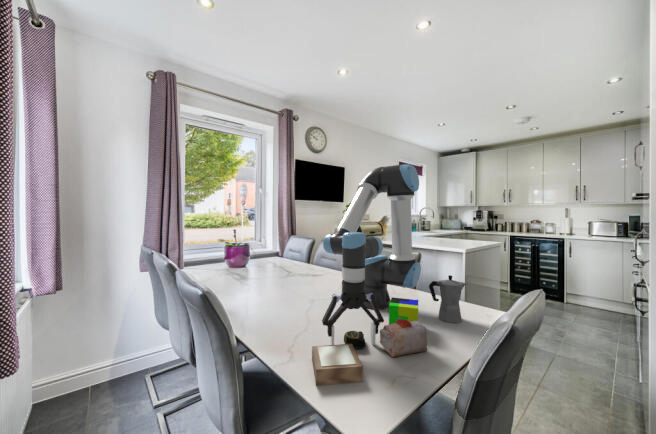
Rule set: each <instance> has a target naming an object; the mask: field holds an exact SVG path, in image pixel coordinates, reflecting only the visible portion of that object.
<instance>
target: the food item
mask: <svg viewBox="0 0 656 434" xmlns="http://www.w3.org/2000/svg"><path fill="white" fill-rule="evenodd" d="M379 343H380V344H381V346H382V347H383V350H385V351H386V352H387V354H389V356H391V357H392V358H396V357H400V356H403V355H408V354H409V355H410V354H416V353H421V352H422V353H423V352H428V334H427V328H426V326H425V325H424V324H422V323H421V321H419V320H418V321H411V322H409V321H408V320H403V319H401V317H399V318H398V320H397V321H396V323H394V324H389V323H388V324H385V325H383V328H381V329H380V330H379Z"/></svg>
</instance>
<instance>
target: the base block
mask: <svg viewBox="0 0 656 434" xmlns="http://www.w3.org/2000/svg"><path fill="white" fill-rule="evenodd" d="M355 349H356V348H355ZM355 349H354V347H353V345H352V344H345V343H344V344H343V343H342V344H334V345H331V344H329V345H328V344H326V345H313V346H311V362H312V368H313V374H314V381H315V386H328V385H339V384H352V383H364V382H363V381H364V379H363V377H364V375H363V374H364V366H363V364H362V361H361V359H360V357H359V356H358V353H357V351H356V350H355Z"/></svg>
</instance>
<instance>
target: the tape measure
mask: <svg viewBox="0 0 656 434" xmlns="http://www.w3.org/2000/svg"><path fill="white" fill-rule="evenodd" d="M364 335H365V334H364V333H363V331H360V330H359V331H356V330H349V331H346V332H345V333H344V335H343V343H344V344H352V345H353V347H354V349H363V348H365V347H366V339H365V338H364Z"/></svg>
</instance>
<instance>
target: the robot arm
mask: <svg viewBox="0 0 656 434" xmlns="http://www.w3.org/2000/svg"><path fill="white" fill-rule="evenodd" d="M419 186H420V178H419V174H418V171H417V169H416V167H415V166H413V164H397V165H396V164H395V165H389V166H380V167H376V168H374V169H372V170H371V171H370V172H369V173H367V174H366V175H365V176H364V177H363V178H362V179H361V181H360V182H359V184H358V185H357V188H356V190H357V192H356V194H355V195H354V197H353V199H352V201H351V203H350V205H348V208H347V210H346V211H345V213H344V215H343V217H342V219H341V220H340V222H339V224H338V226H337V227H336V229H335V232H334V233H331V234H330V233H329V234H327V235H325V236H324V238H323V241H322V246H323V249H324V251H325V253H327V254H331V255H334V256H335V255H339V256H340V255H341V256H342V258H341V260H342V262H341V263H342V264H341V270H342V271H341V279H342V280H341V294H340V295H336V294H335V293H332V295H331V302H330V304H329V305H328V308H327V309H326V311H325V314H324V316H323V318H322V319H321V322H322V325H323V326H325V327H327V335H328V337H329V338H330V345H335V323H336V322H337V321H338V319H339V318H340V317H341V316H342V315H343V313H344V312H345V311H347V309H349V310H353V309H354V310H359V309H360V308H361V309H362V310H363V311H364V313H366V315H367V317H369V318H370V319H371V320H372V321H370V343H371V344H372V346H376V335H378V333H379V325H380V324H381V323H384V322H385V319H384V317H383V315H382V312H381V311H380V309H388V308H389V304H390V301H391V297H390V293H389V291H388V290H389V289H388V285H389V286H395V287H401V288H403V289H405V288H408V289H413V288H415V287H416V286H417V284H418V283H419V280H420V276H421V272H422V267H421V263H420V262H418V261H417V259H416V256H415V254H413V240H412V239H413V237H412V236H413V235H412V234H413V233H412V199H413V198H414V197H415V192H417V191H418V190H419V189H420V187H419ZM382 193H385V194H386V195H387V198H388V199H389V200H390V218H391V222H390V223H391V226H390V227H391V254H389V256H388V255H386V254H382V252H383V249H384V244H383V242H382V240H381V238H379V237H378V236H375V235H369V236H366V234H365V232H359V231H358V229H359V227H360V226H361V223H362V222H363V220H364V217H365V216H366V214H367V211H368V209H369V208H370V206H371V203H372V201H373V200H375V199H376V198H377V197H378V195H379V194H382ZM340 300H341V303H340V304H339V307H338V308H337V310H336V311H335V312H334V313H333V311H334V310H335V308H336V306H337V303H338V302H339V301H340ZM369 309H373V311H374V313H375V315H376V316H377V317H376V316H374V314H372V312H371V311H370V310H369Z"/></svg>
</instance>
